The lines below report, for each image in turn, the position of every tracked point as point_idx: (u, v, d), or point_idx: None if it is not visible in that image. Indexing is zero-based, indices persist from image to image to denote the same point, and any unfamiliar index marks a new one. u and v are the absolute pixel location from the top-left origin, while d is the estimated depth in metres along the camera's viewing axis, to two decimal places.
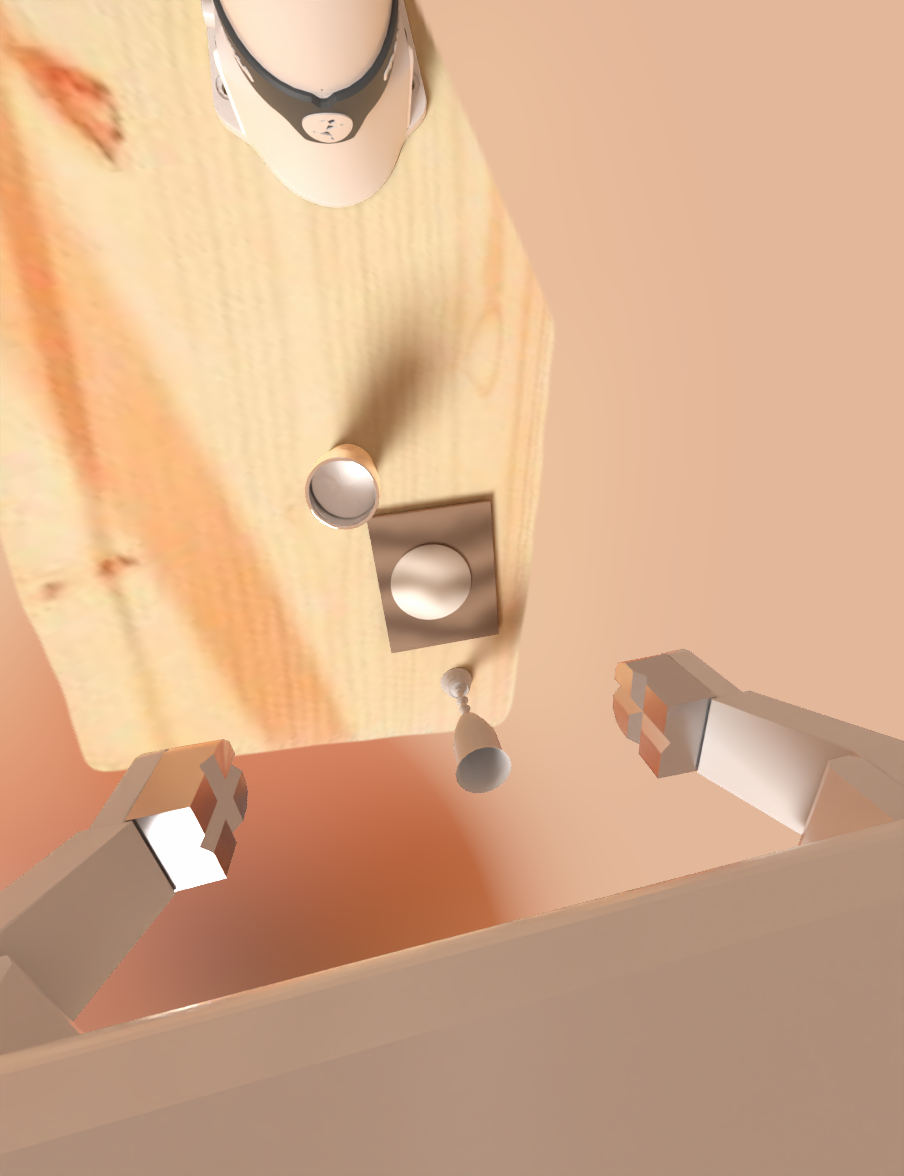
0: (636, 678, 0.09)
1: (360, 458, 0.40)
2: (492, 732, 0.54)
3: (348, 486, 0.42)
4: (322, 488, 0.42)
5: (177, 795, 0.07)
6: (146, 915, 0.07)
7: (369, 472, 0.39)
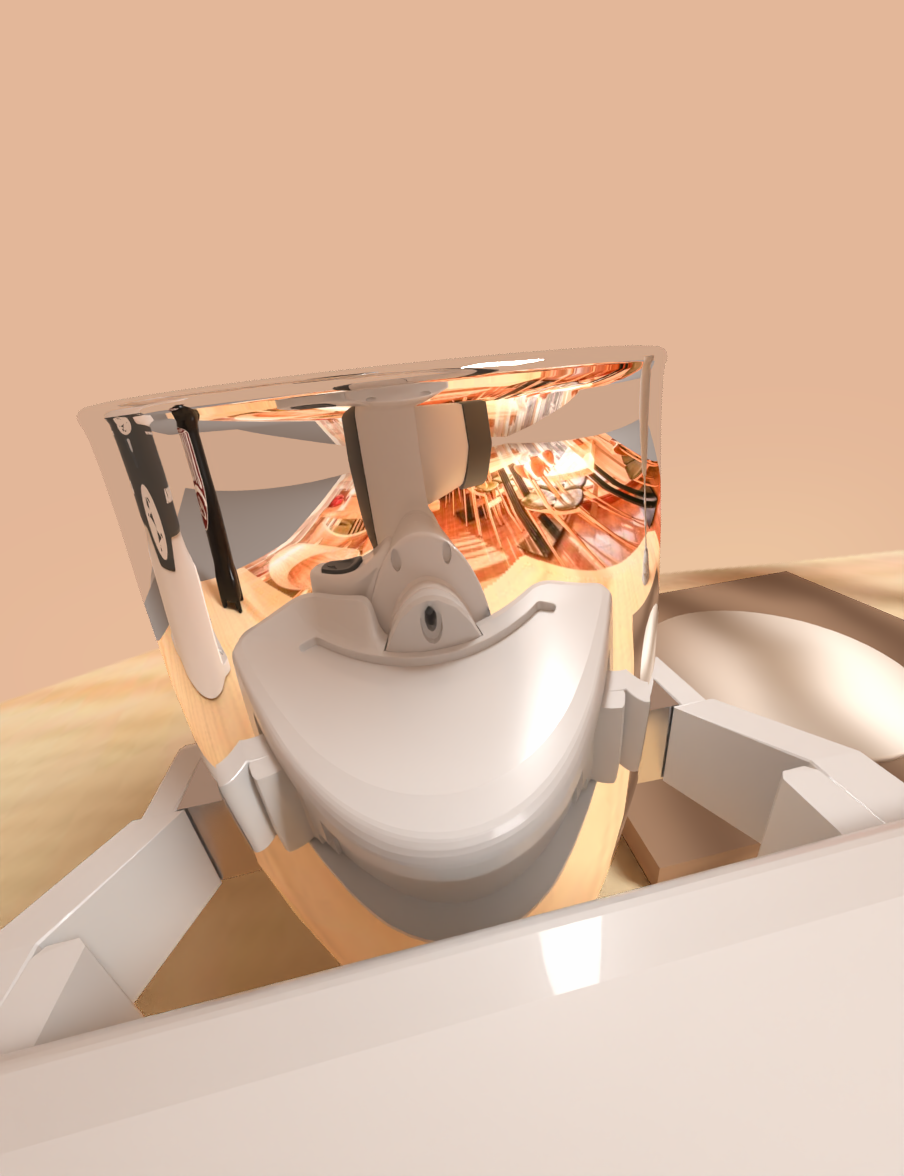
0: None
1: None
2: None
3: None
4: None
5: None
6: (196, 903, 0.07)
7: None
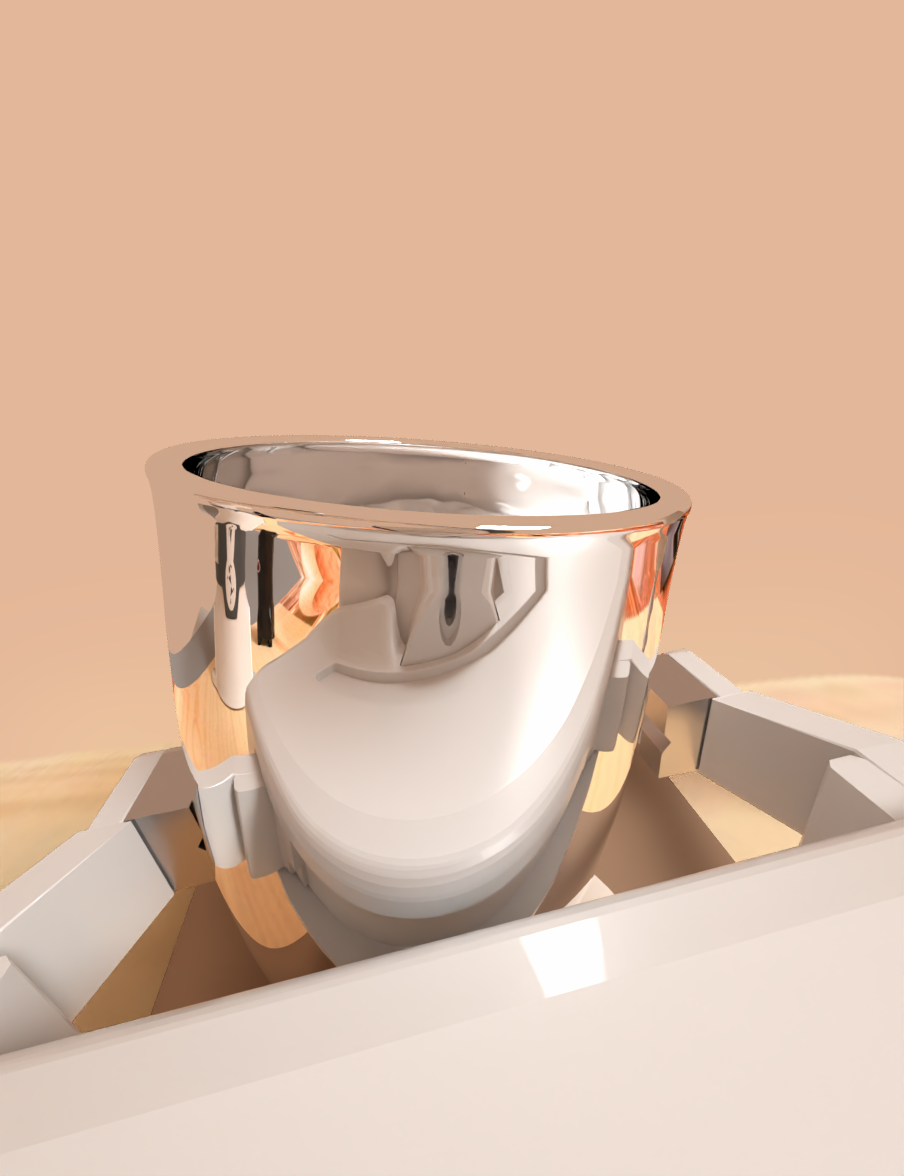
0: None
1: None
2: None
3: None
4: None
5: (176, 795, 0.07)
6: (145, 915, 0.07)
7: (328, 436, 0.08)
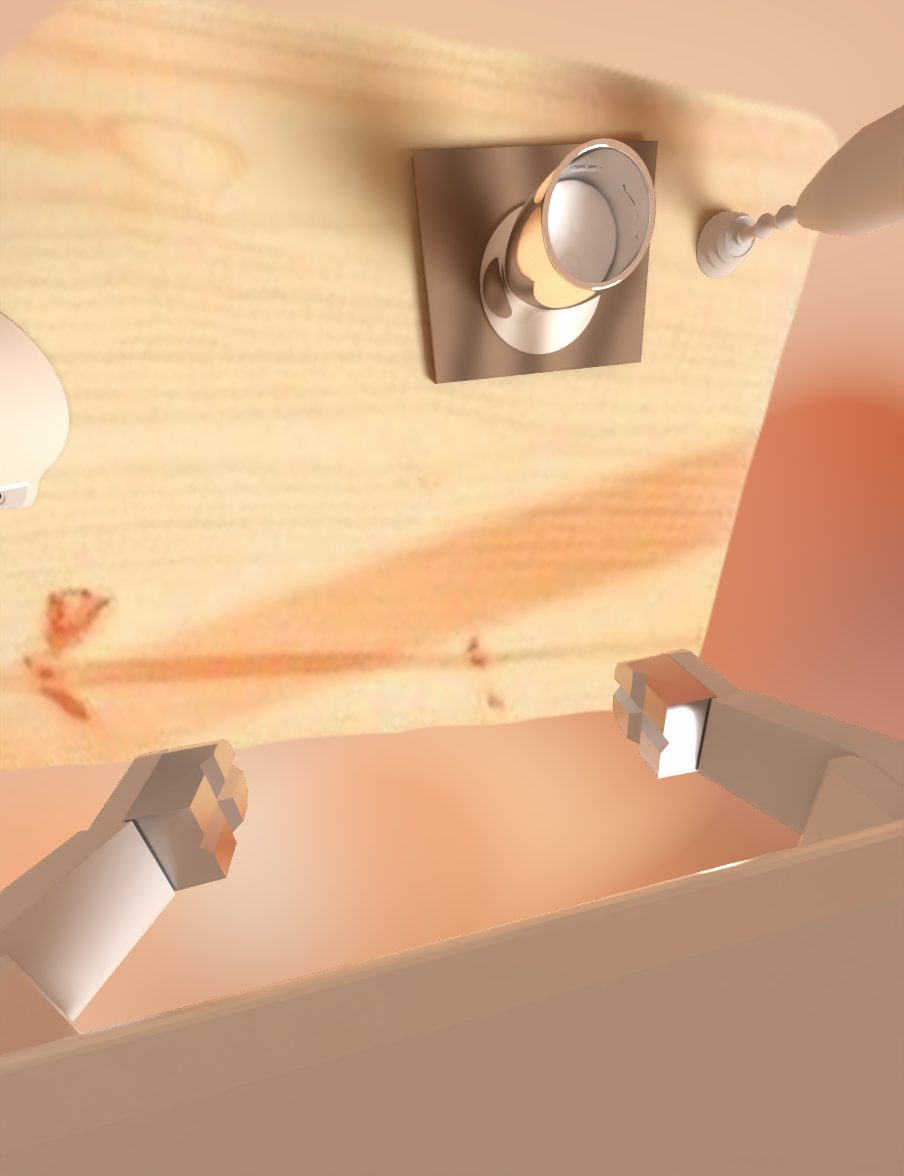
0: (636, 678, 0.09)
1: (538, 190, 0.24)
2: (873, 125, 0.26)
3: (570, 235, 0.27)
4: None
5: (177, 795, 0.07)
6: (146, 915, 0.07)
7: (571, 155, 0.22)
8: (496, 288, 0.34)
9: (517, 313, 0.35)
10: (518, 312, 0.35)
